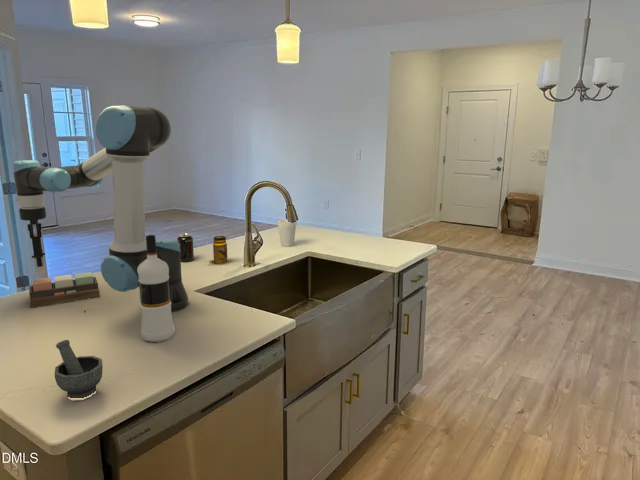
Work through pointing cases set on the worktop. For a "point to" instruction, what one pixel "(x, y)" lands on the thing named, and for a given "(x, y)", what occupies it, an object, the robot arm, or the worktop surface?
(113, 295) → the worktop surface
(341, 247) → the worktop surface
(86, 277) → the sage key
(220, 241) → the condiment
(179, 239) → the beverage can
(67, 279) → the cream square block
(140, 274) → the vodka
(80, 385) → the mortar and pestle
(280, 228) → the foam cup
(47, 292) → the keypad
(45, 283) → the terracotta key
